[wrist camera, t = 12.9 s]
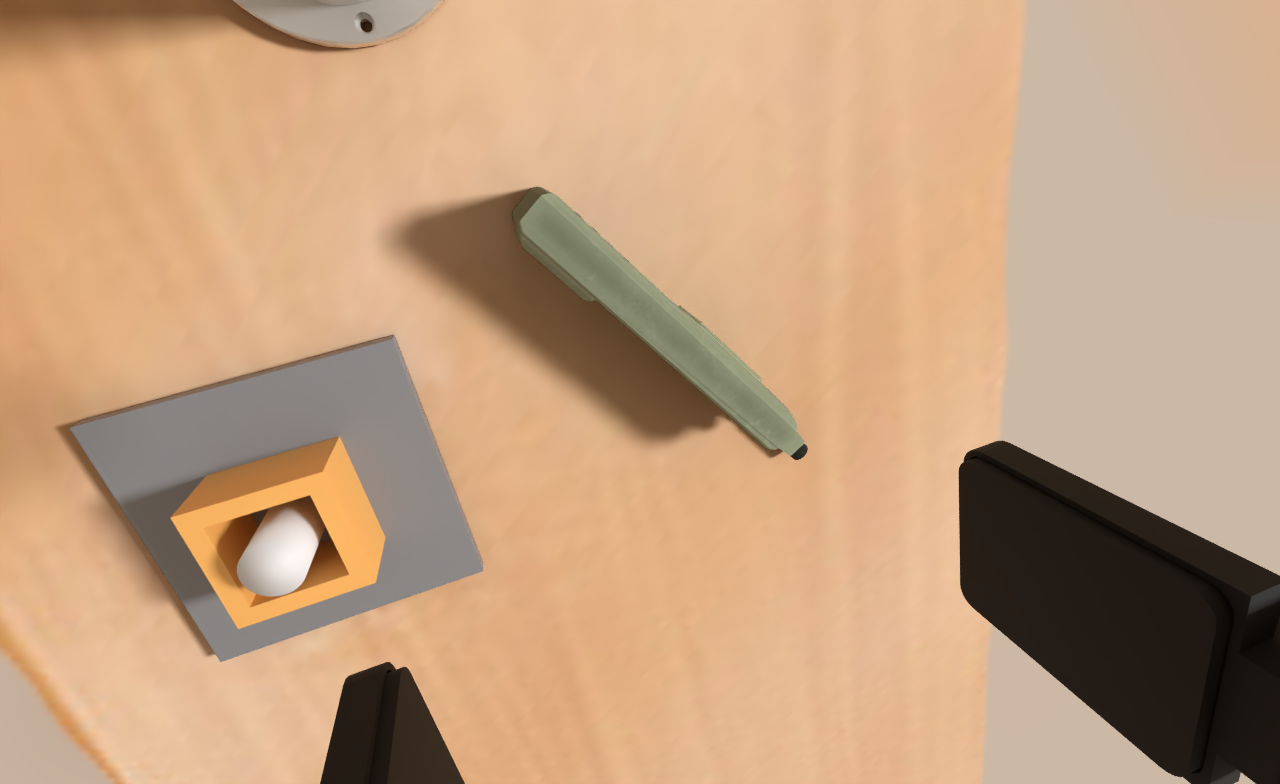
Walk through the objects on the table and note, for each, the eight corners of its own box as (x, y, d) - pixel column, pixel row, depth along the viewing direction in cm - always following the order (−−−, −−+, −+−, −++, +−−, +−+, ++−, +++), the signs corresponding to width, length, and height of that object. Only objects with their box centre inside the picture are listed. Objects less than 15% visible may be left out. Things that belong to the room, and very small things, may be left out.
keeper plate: (80, 420, 31) (-17, 483, 25) (394, 334, 34) (378, 371, 28) (226, 650, 38) (178, 747, 31) (482, 562, 40) (486, 634, 34)
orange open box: (206, 475, 33) (170, 517, 29) (339, 435, 34) (322, 471, 30) (264, 577, 36) (238, 629, 32) (385, 537, 37) (375, 582, 33)
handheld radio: (540, 175, 34) (809, 427, 44) (502, 221, 34) (777, 460, 44) (554, 180, 28) (861, 471, 38) (506, 236, 28) (824, 509, 38)
